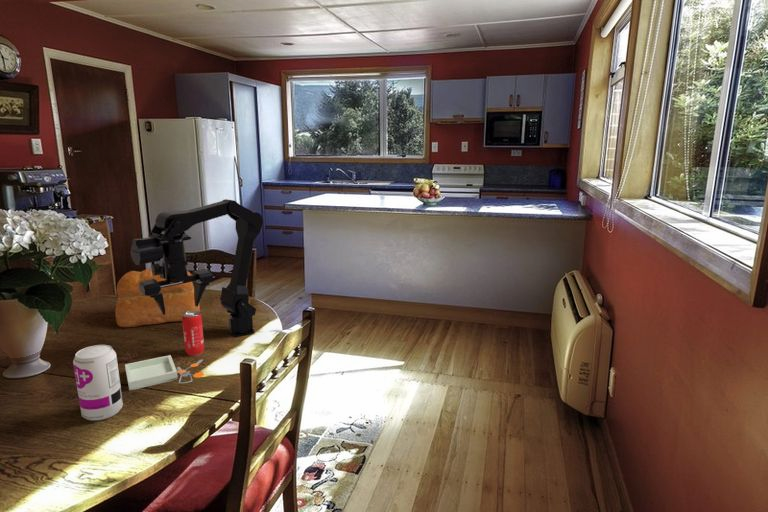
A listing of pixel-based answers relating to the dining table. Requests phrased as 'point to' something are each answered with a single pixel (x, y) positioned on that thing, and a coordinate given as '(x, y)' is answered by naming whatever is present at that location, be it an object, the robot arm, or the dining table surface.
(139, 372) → the tray
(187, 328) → the beverage can
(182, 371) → the key chain
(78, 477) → the dining table surface
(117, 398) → the supplement can
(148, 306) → the bread
